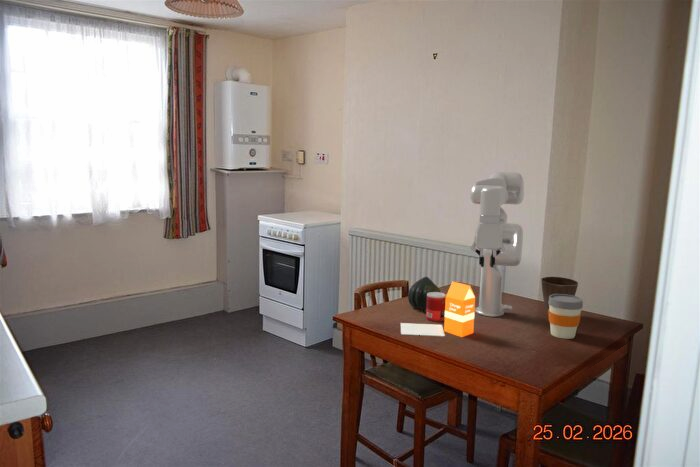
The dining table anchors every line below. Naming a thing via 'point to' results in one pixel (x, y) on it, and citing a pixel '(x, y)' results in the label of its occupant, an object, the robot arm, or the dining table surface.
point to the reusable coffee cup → (564, 315)
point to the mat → (422, 329)
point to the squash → (421, 292)
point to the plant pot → (557, 288)
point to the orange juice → (459, 310)
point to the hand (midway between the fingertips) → (486, 266)
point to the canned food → (435, 306)
